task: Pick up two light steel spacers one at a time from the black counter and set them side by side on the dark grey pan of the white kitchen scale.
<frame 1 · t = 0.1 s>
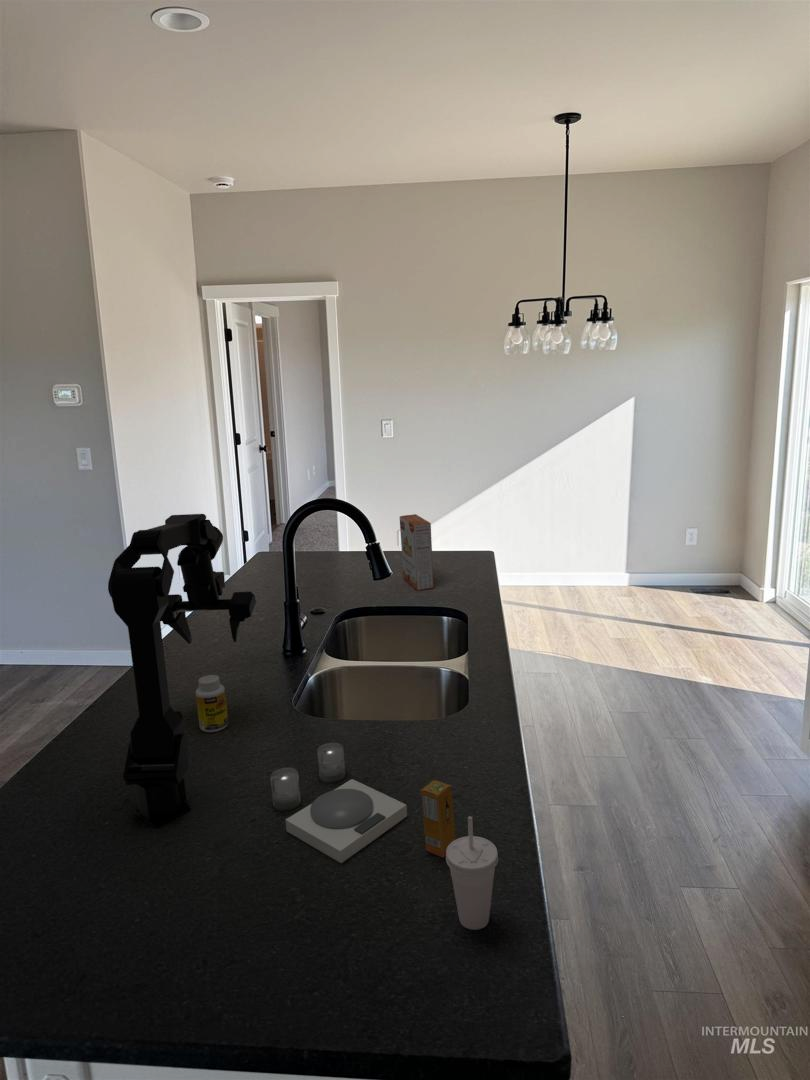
hand: (212, 641, 150), 15 cm above the counter, tool pointing down, fingers open, 9 cm apart
spacer a: (286, 802, 121), on the counter
scale: (347, 823, 114), on the counter
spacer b: (332, 775, 128), on the counter
smoothie: (474, 920, 94), on the counter
supplement box: (440, 850, 107), on the counter
supplement bottle: (214, 727, 147), on the counter
cracker box: (417, 584, 233), on the counter
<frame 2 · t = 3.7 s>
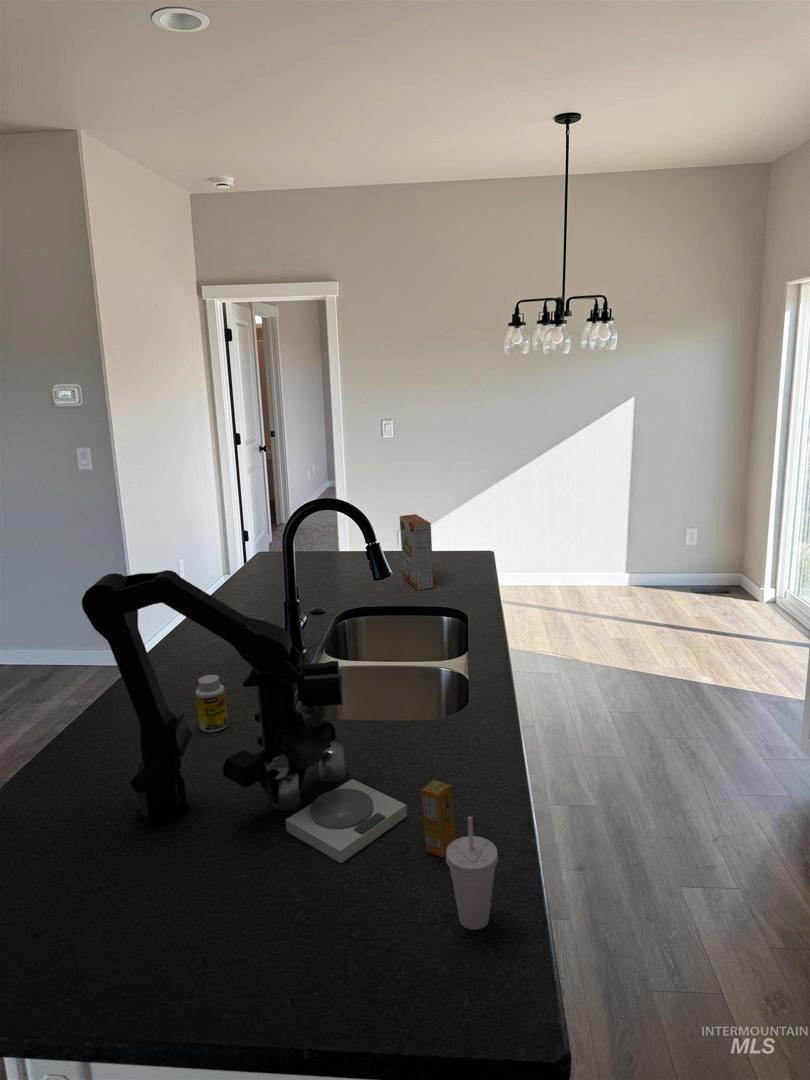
hand: (286, 796, 120), 1 cm above the counter, tool pointing down, fingers closed on spacer a, 4 cm apart
spacer a: (286, 802, 121), on the counter, touching gripper
everything else where it was.
when the fingers open (5 cm above the counter, at t = 6.7 s): spacer a drops 1 cm, resting on scale.
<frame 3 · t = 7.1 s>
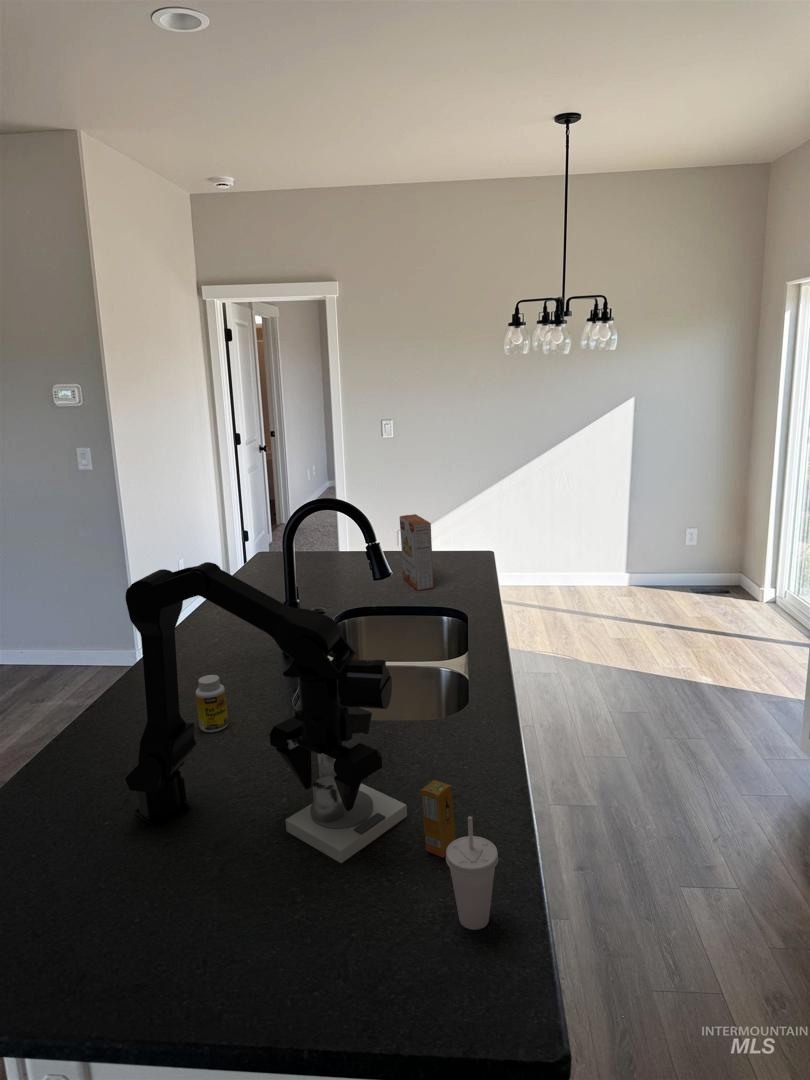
hand: (328, 798, 112), 5 cm above the counter, tool pointing down, fingers open, 9 cm apart
spacer a: (329, 813, 113), point 3 cm above the counter, touching scale
everything else where it was.
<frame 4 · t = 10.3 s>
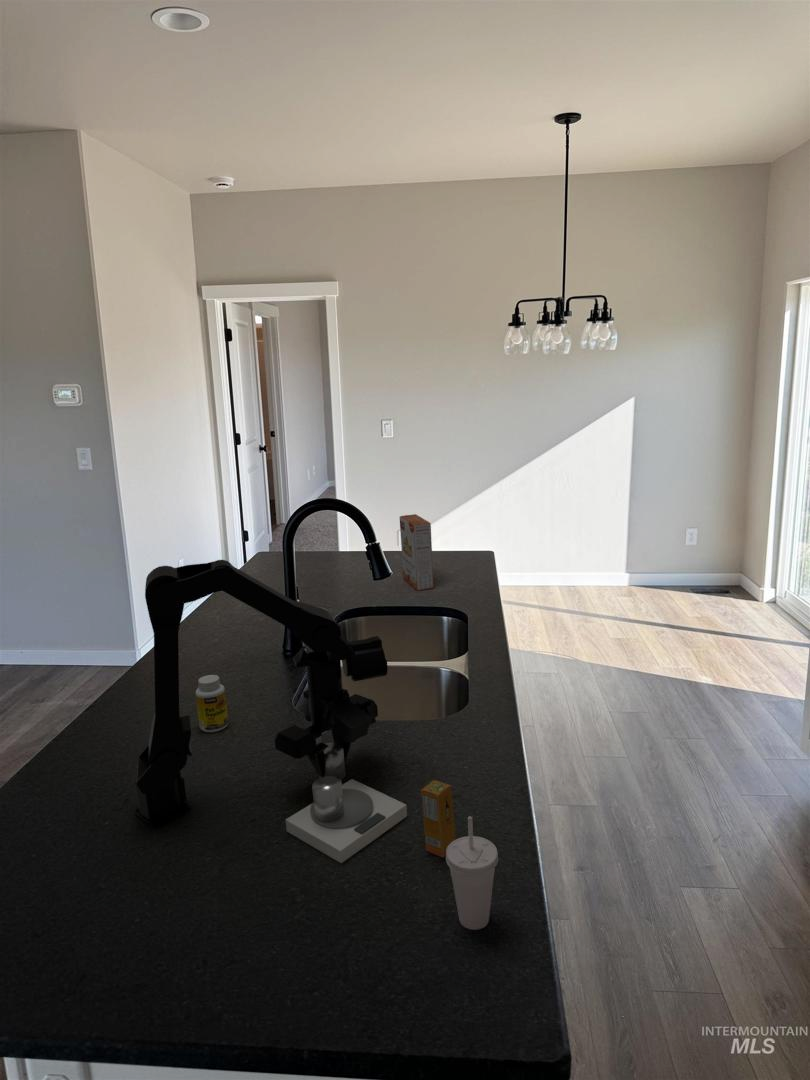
hand: (331, 769, 128), 1 cm above the counter, tool pointing down, fingers closed on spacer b, 4 cm apart
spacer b: (332, 775, 128), on the counter, touching gripper
everything else where it was.
when the fingers open (5 cm above the counter, at t = 13.4 s): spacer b drops 2 cm, resting on scale.
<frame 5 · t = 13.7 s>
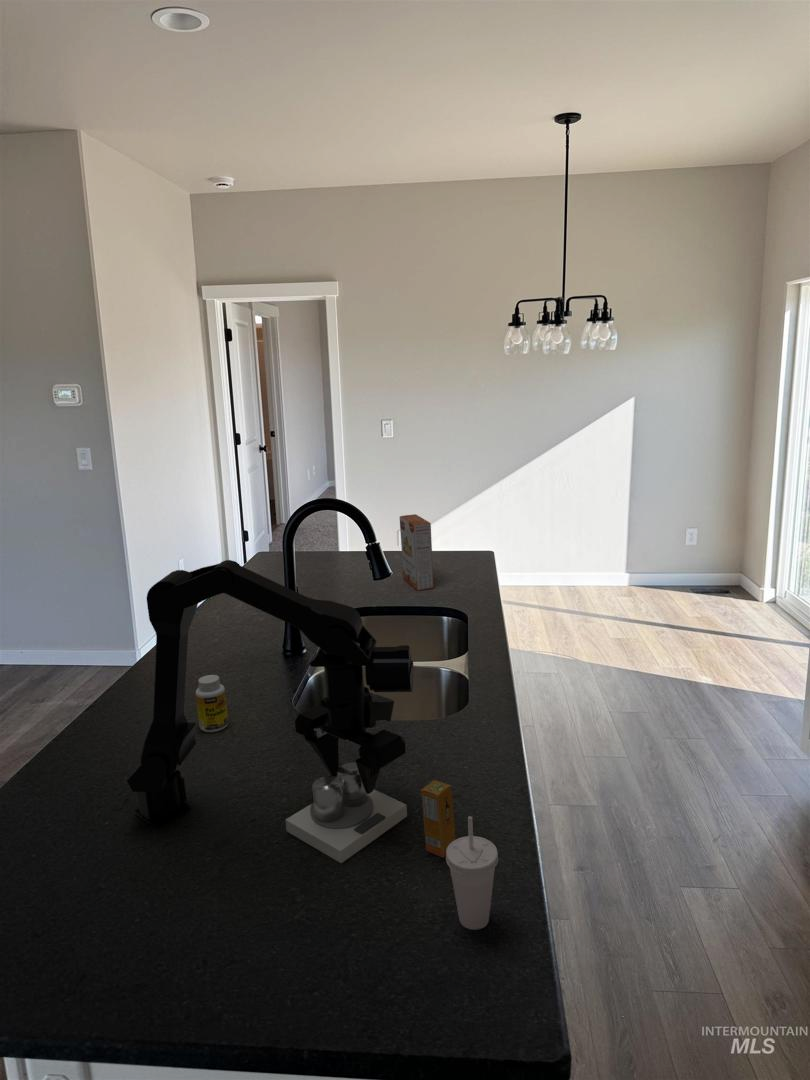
hand: (352, 783, 115), 5 cm above the counter, tool pointing down, fingers open, 7 cm apart
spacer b: (353, 798, 116), point 3 cm above the counter, touching scale
everything else where it was.
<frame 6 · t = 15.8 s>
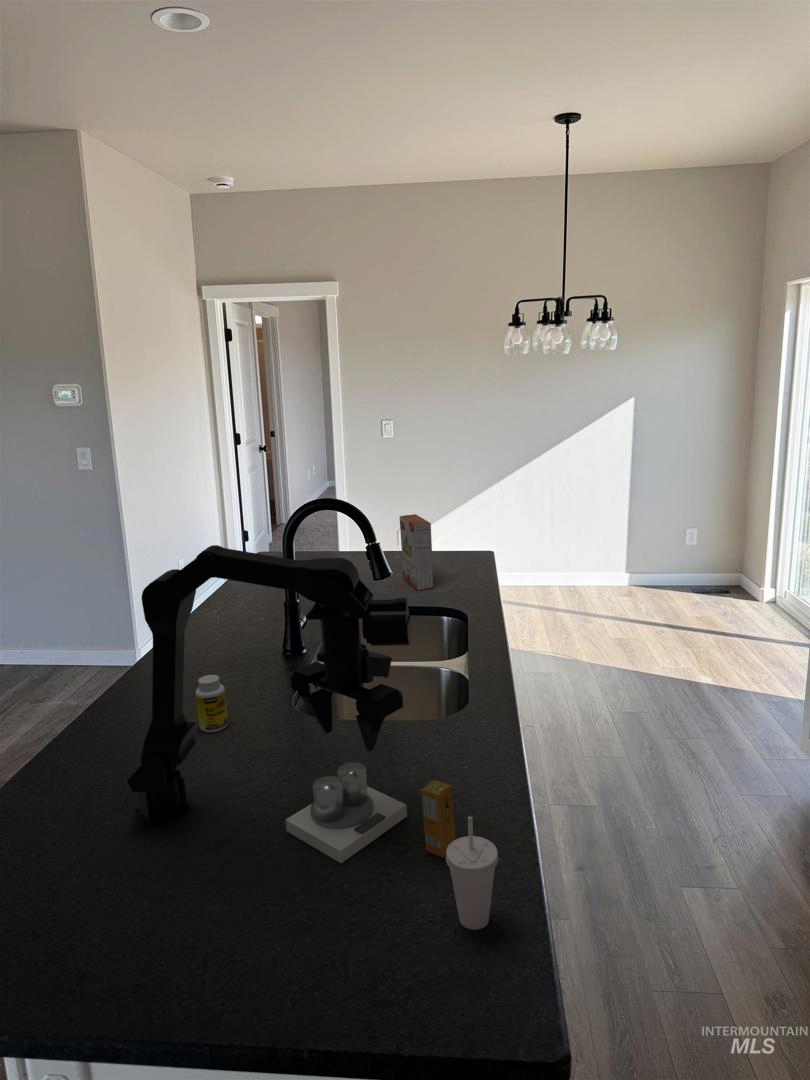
hand: (349, 741, 114), 12 cm above the counter, tool pointing down, fingers open, 9 cm apart
nothing on the counter moved.
at the end: spacer a inside the target area on the scale (2.5 cm from its centre), point 2.6 cm above the scale's base; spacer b inside the target area on the scale (2.5 cm from its centre), point 2.6 cm above the scale's base; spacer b tilted 1° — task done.
